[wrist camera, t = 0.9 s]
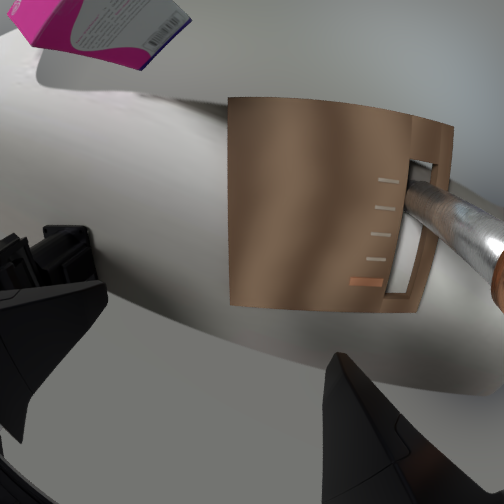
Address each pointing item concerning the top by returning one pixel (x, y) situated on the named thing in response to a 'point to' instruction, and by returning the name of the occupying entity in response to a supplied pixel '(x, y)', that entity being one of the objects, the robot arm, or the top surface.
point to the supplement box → (101, 27)
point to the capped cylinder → (462, 230)
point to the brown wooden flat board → (325, 203)
